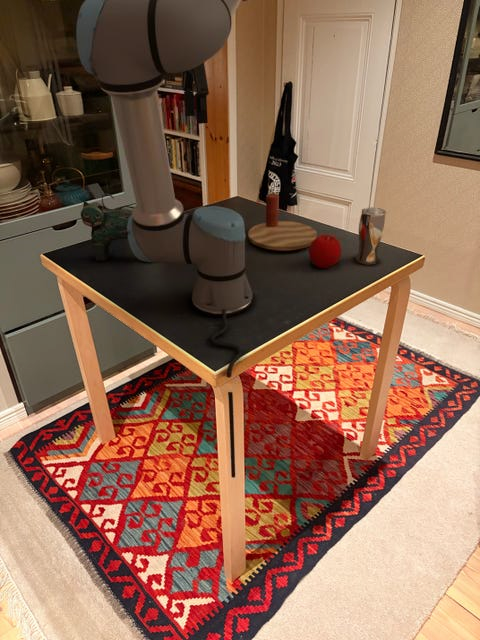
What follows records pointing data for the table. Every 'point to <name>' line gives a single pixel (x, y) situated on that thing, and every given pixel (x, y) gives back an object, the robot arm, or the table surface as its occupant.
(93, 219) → the ceramic cat
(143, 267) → the table surface
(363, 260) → the beer glass
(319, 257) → the fruit
